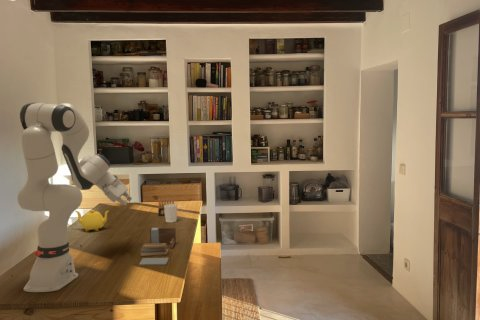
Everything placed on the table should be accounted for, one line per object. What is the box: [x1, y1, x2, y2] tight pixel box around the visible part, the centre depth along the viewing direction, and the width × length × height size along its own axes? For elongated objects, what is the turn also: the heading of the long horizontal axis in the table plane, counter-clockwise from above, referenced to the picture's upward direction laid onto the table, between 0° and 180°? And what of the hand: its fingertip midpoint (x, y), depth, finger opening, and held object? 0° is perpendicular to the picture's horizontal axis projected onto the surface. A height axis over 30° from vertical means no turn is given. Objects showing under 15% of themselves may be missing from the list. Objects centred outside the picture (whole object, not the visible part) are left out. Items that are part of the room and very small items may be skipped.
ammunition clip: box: [157, 197, 175, 217], centre depth 285 cm, size 11×2×12 cm, turn 89°
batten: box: [151, 227, 160, 243], centre depth 216 cm, size 4×3×10 cm
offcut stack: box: [140, 242, 169, 257], centre depth 208 cm, size 5×12×4 cm, turn 91°
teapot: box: [75, 209, 110, 232], centre depth 255 cm, size 20×15×12 cm
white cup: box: [164, 203, 178, 223], centre depth 270 cm, size 8×8×10 cm
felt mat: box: [138, 257, 170, 266], centre depth 197 cm, size 8×12×1 cm, turn 91°
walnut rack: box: [149, 227, 177, 249], centre depth 221 cm, size 10×13×8 cm
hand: (128, 202), depth 215 cm, fingers open, 8 cm apart
